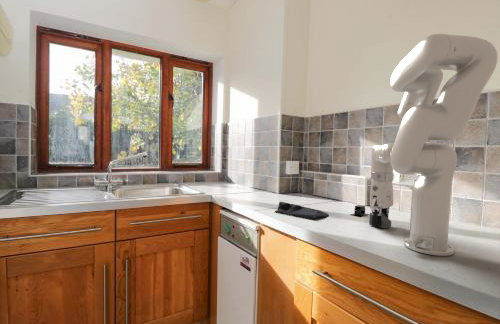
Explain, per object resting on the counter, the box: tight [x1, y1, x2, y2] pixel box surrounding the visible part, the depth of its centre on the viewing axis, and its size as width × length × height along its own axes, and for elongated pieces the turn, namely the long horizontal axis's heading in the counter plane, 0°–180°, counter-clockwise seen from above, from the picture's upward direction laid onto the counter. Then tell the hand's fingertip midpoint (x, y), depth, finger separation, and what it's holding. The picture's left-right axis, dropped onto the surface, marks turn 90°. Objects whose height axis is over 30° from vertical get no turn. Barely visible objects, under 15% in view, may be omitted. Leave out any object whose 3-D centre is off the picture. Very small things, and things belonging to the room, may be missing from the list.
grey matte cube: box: [368, 212, 392, 229], centre depth 103 cm, size 5×6×5 cm
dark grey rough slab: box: [274, 201, 330, 220], centre depth 121 cm, size 15×22×5 cm
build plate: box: [349, 204, 370, 218], centre depth 121 cm, size 12×7×5 cm, turn 130°
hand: (380, 224), depth 103 cm, fingers closed on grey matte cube, 5 cm apart
